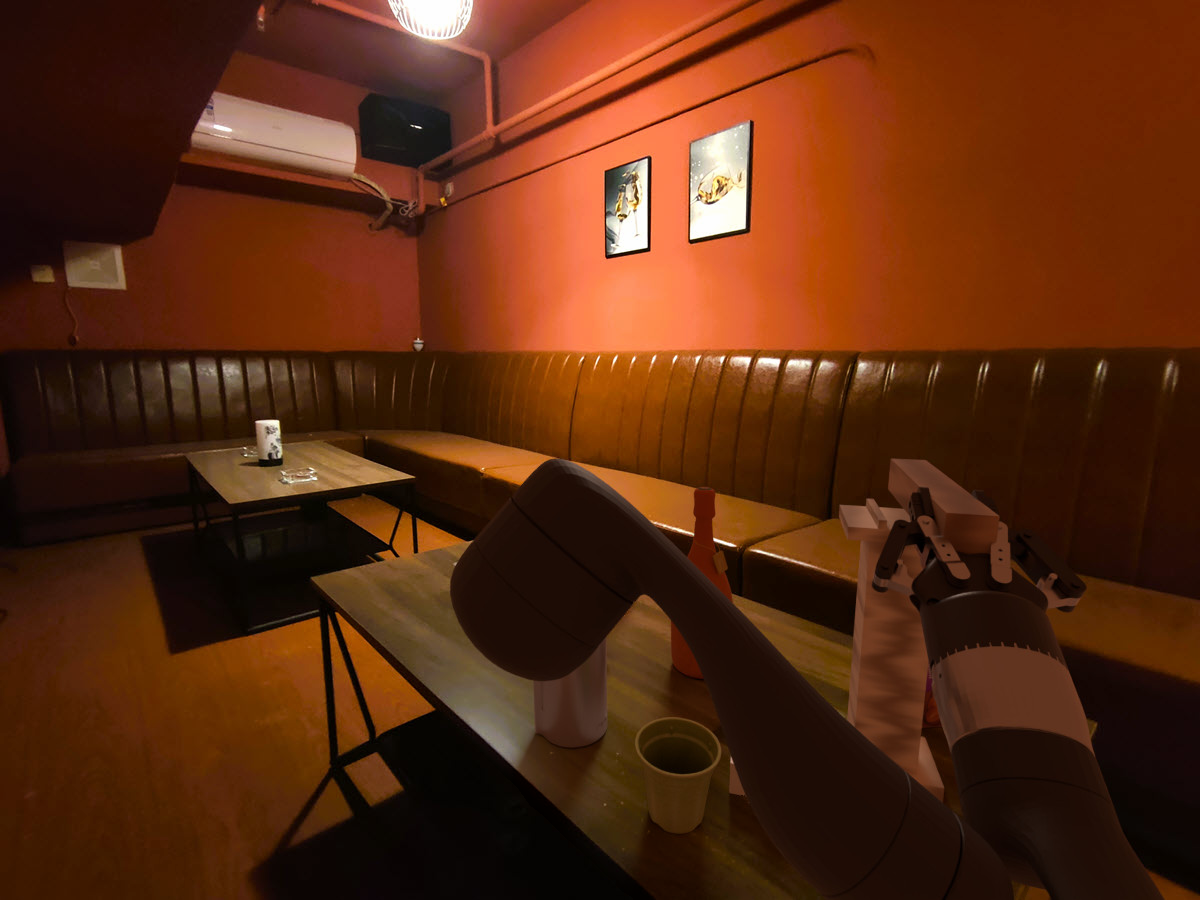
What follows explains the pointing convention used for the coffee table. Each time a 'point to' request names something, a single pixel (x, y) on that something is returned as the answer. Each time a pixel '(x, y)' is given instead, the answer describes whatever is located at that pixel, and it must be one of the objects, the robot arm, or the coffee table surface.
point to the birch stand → (888, 652)
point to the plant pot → (677, 770)
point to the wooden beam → (946, 505)
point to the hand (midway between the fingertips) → (947, 496)
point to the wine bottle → (709, 565)
